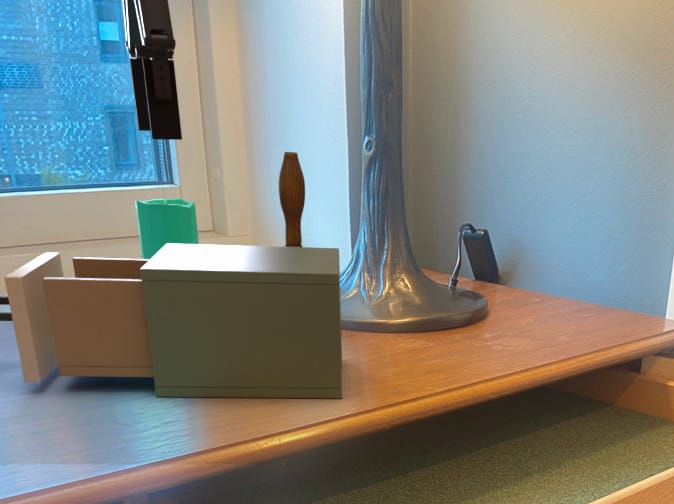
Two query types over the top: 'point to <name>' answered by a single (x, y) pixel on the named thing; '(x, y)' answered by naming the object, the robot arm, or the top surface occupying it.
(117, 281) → the drawer
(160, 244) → the candle
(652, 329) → the top surface
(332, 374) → the cabinet
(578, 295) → the top surface
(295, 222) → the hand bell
